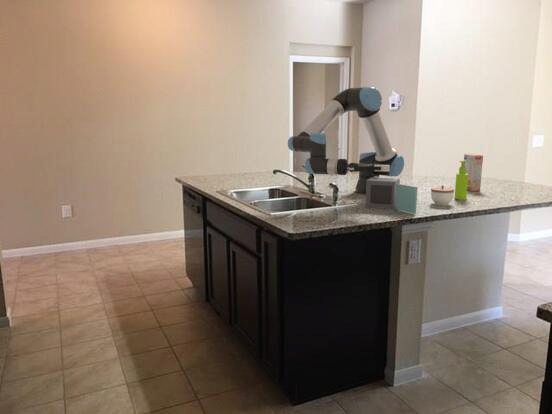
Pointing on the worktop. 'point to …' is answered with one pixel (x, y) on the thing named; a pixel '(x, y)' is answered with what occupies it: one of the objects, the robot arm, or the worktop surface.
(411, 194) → the side door
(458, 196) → the soap dispenser
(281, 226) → the worktop surface
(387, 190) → the small grey cabinet
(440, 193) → the lidded jar
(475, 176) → the cracker box
